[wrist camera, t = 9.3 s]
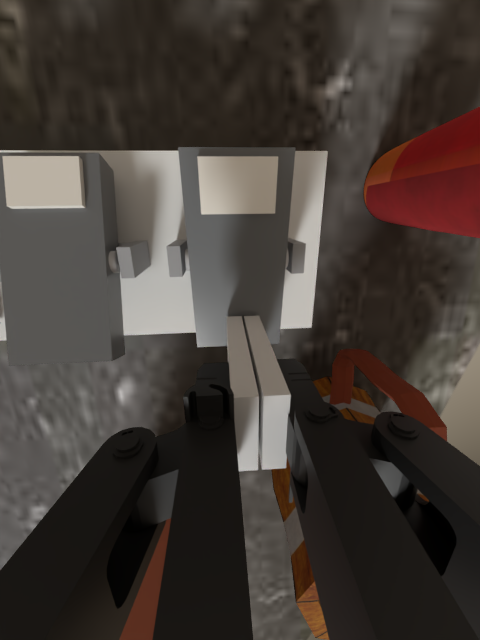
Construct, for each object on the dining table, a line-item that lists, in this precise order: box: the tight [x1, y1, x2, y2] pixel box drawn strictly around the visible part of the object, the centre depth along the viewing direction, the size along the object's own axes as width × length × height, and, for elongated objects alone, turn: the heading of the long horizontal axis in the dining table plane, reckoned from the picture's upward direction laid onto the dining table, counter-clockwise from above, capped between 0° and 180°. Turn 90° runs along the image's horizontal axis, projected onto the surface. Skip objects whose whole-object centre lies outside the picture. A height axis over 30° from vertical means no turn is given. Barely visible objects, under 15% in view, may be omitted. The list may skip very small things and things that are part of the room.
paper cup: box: [364, 107, 480, 238], centre depth 16 cm, size 8×8×14 cm
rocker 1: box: [0, 152, 125, 366], centre depth 12 cm, size 5×9×2 cm, turn 1°
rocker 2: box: [178, 147, 296, 347], centre depth 13 cm, size 5×9×2 cm, turn 1°
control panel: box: [119, 518, 171, 640], centre depth 23 cm, size 21×7×15 cm
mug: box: [272, 349, 447, 640], centre depth 23 cm, size 20×14×15 cm
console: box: [0, 150, 328, 341], centre depth 17 cm, size 26×10×11 cm, turn 91°
